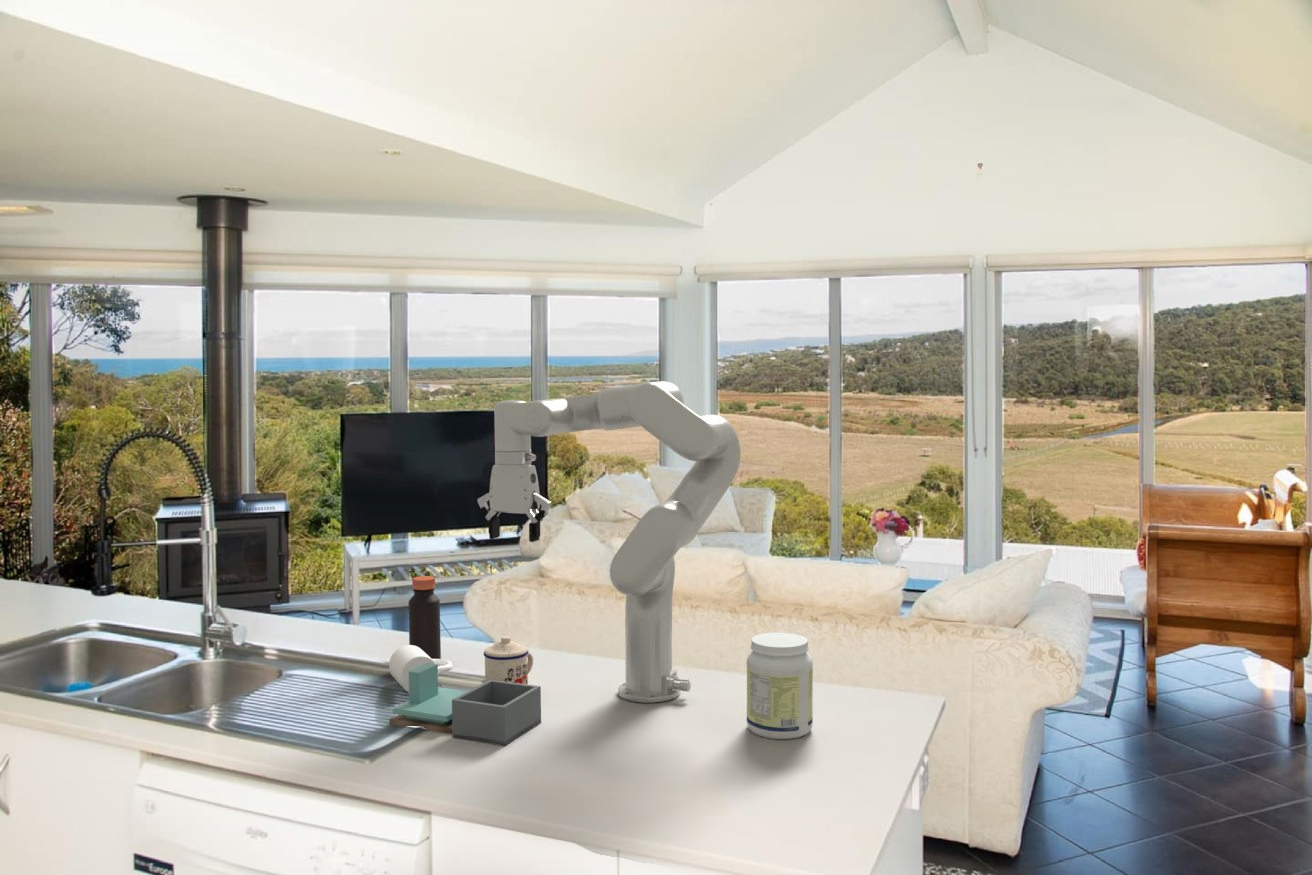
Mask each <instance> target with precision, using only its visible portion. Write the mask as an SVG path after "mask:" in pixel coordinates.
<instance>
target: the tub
mask: <svg viewBox="0 0 1312 875" xmlns="http://www.w3.org/2000/svg"><path fill="white" fill-rule="evenodd" d="M467 691H468V692H466V693H464V694H462V695H460V696H458V697H456V698H454V699H453V700H452V734H451V735H452V738H453V739H459V740H464V741H465V740H466V741H471V742H475V743H484V744H490V745H497V746H501V747H502V746H503V747H506V746H508V745H509V744H510V743H512V742H515V740H516V739H518V738H519V737H521V736H523V735H524V734H526V733H527V732H529V731H530V730H532V729H534V728H535V727H537V726H539V725H540V724H542V694H541V693H542V692H541V691H542V688H541V686H540V685H532V684H528V685H527V684H519V683H512V682H504V681H497V680H489V681H487V682H485V681H484V682H483V683H482V684H478V686H475V687H474V688H471V689H470V690H467Z"/></svg>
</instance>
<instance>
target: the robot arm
mask: <svg viewBox="0 0 1312 875" xmlns="http://www.w3.org/2000/svg"><path fill="white" fill-rule="evenodd" d="M493 412H494V413H493V414H494V451H495V452H494V462H495V463H494V465H493V466H492V469H491V474H490V479H489V481H490V482H489V492H487V493H486V494H483V495H482V496H480V497H478V498H477V504H478V505H479V507H480V511H481V513H482V514H483V515H484V516H485V519H486V520H487V521H488V522H487V523H488V526H487V527H488V530H487V531H488V534H489V535H488V536H489V539H490V540H494V539H498V538H500V536H501V527H500V526H501V525H500V524H501V522H500V518H498V517H499V516H500V514H501V513H506V514H526V516H527V517H528V519H529V520H530V522H529V524H528V536H529V537H528V539H529V542H530V543H534V542H538V541H539V540H540V537H541V522H542V521H543V519H544V518H545V517H546V516H547V515H548V513H549V512H548V511H549V510H550V508H551V506H552V502H551V501H550V500H548V499H547V498H545V497H544V496H542V495H541V494H540V486H539V479H538V474H537V473H538V472H537V469H536V466H535V465H532V463H533V461H536V459H537V454H534V453H532V438H531V437H538V438H539V437H540V438H541V437H542V438H543V437H547V436H554V435H560V434H567V433H568V434H569V433H574V432H582V431H591V430H605V431H615V430H622V429H623V430H624V429H631V428H638V427H642V428H643V429H644V430H645V431H646V432H648V433H649V434H651V436H653V437H654V438H656V439H657V440H658V441H660V442H661V443H662V444H664V445H665V446H666V447H668V448H669V449H671V450H672V451H673V452H674V453H676V454H677V455H678V456H680V457H682V458H684V459H686V460H688V461H692V462H694V464H693V466H692V467H691V468H690V469H689V470H688V471H687V473H686V474H685V475H684V477H683V478H682V479H681V481H680V483H679V484H678V486H677V487H676V488H675V489H674V491H673V492H672V493H671V495H670V496H669V497H668V498H667V499H666V500H665V501H663V502H662V503H658V504H655V505H654V506H653V507H651V508H650V509H648V510H647V511H646V512H645V513H644V515H643V516H642V517H641V518H640V519H639V520H638V522H637V524H636V525H635V526H634V527H633V529H632V531H631V532H630V533H629V535H628V536H627V537H626V539H625V540H624V542H623V543H622V544H621V546H620V547H619V549H618V550H617V552H616V553H615V554H614V556H613V558H612V561H611V562H610V566H609V579H610V582H611V584H612V586H613V587H614V589H615V590H616V591H618V592H619V593H621V594H623V595H624V596H625V607H624V608H625V610H624V611H625V619H624V620H625V621H624V626H625V627H624V629H625V632H624V633H625V635H624V636H625V637H624V638H625V639H624V640H625V643H624V645H625V647H624V648H625V682H624V683H621V684H620V685H619V686H618V688H617V693H618V695H619V697H620V698H622V699H625V700H626V701H631V702H635V703H643V704H644V703H646V704H647V703H648V704H649V703H661V702H666V701H671V700H674V699H676V698H677V697H678V696H679V695H680V694H681V693H680V692H681V691H682V692H690V690H691V687H692V686H691V682H690V680H689V678H679V677H678V676H677V675H678V674H677V673H678V671H677V670H676V669H675V670H673V593H674V592H673V591H674V583H675V575H676V574H675V573H676V565H675V564H676V562H675V558H674V557H675V556H676V554H678V552H679V550H681V549H682V548H683V547H686V546H687V545H688V544H690V543H691V542H692V541H694V540H695V538H696V537H697V535H698V533H700V530H701V529H702V527H703V526H704V524H705V523H706V521H707V520H708V518H709V517H710V515H711V514H712V513H713V512H714V510H715V509H716V507H717V506H718V503H720V501H721V500H722V498H723V497H724V495H725V494H726V492H727V490H728V489H729V488H730V486H731V485H732V483H733V482H734V479H735V477H736V475H737V473H738V470H739V468H740V467H739V466H740V462H741V454H742V452H741V444H740V440H739V437H738V434H737V432H736V430H735V428H734V427H733V425H732V423H730V422H729V421H728V420H727V419H725V418H724V417H723V416H720V415H717V414H703V415H698V414H697V413H695V412H694V411H693V410H691V409H690V408H688V407H687V406H686V405H684V397H683V394H682V391H681V390H680V389H679V387H678V386H677V385H676V384H674V383H672V382H670V381H664V380H663V381H662V380H661V381H648V382H643V383H639V384H631V385H625V386H617V387H608V388H603V389H600V390H599V391H597V392H595V393H591V394H584V395H577V396H570V397H560V398H547V399H537V400H531V401H525V400H519V399H516V400H515V399H513V400H510V399H509V400H500V401H497V402H496V403H495V405H494V410H493ZM488 502H489V505H488ZM540 506H541V507H540ZM539 509H540V510H539Z"/></svg>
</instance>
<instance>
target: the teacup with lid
mask: <svg viewBox="0 0 1312 875" xmlns="http://www.w3.org/2000/svg"><path fill="white" fill-rule="evenodd" d="M511 639H512V638H511V637H510V636H508V635H507V636H505V635H504V636H501V638H500V641H498V642H496V643H495V644H492V645H490V646H487V647H486V648H485V649H484V651H483V656H484V676H485V677H484V679H485V680H484V683H485V682H487V681H489V680H497V681H504V682H512V683H519V684H527V685H529V684H528V683H529V681H528V680H529V679H528V678H529V677H528V675H529V673H530V672H531V671H532V669H533V665H534V656H533V654H532V653H531V652H529V649H528V647H526V646H525V645H523V644H521V643H520V644H519V643H517V642H516V641H513V640H511Z"/></svg>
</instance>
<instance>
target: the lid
mask: <svg viewBox="0 0 1312 875" xmlns="http://www.w3.org/2000/svg"><path fill="white" fill-rule="evenodd" d="M468 691H469V690H462V689H461V690H460V689H457V688H456V689H454V688H448V687H442V686H439V675H438V664H430V663H426V664H424V665H422V666H420V667H417V668H415V669H413V670H411V671H409V692H408V693H409V694H408V700H406V701H404V702H403V703H400V704H398V705H396V706H395V707H392V714H395V715H399V714H400V715H406V718H409V719H416V720H422V721H429V722H435V723H441V724H445V723H447V722H449V721H451V720H452V700H453V699H454V698H456V697H458V696H460V695H462V694H464V693H466V692H468Z"/></svg>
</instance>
